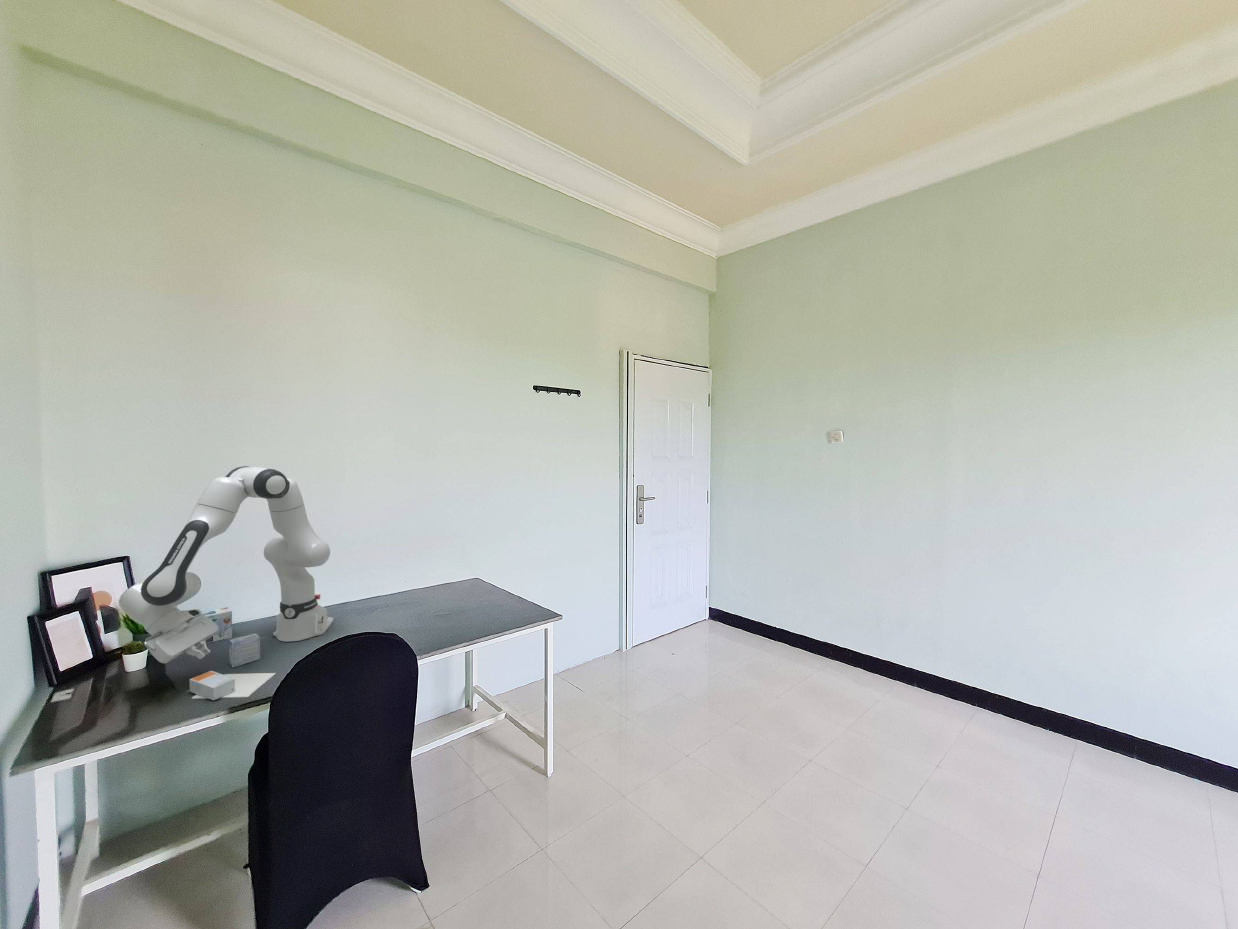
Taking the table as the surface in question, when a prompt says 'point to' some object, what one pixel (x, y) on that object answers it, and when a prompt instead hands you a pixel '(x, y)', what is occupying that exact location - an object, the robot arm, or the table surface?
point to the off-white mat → (244, 684)
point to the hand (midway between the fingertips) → (205, 655)
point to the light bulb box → (220, 623)
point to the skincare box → (212, 685)
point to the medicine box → (244, 650)
